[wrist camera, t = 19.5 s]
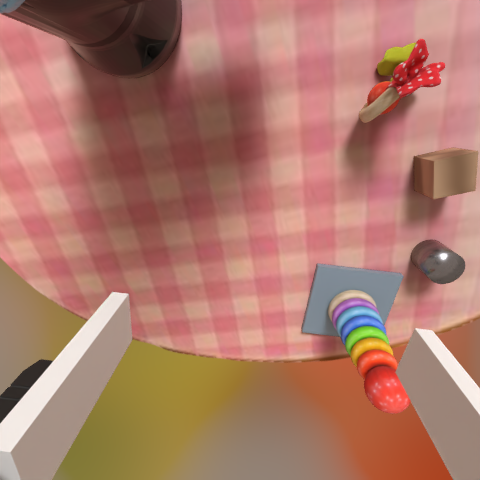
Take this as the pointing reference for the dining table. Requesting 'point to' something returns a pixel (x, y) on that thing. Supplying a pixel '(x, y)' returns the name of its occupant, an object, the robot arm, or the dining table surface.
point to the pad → (342, 279)
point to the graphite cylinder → (437, 261)
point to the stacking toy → (369, 348)
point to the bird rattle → (400, 78)
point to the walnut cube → (445, 172)
